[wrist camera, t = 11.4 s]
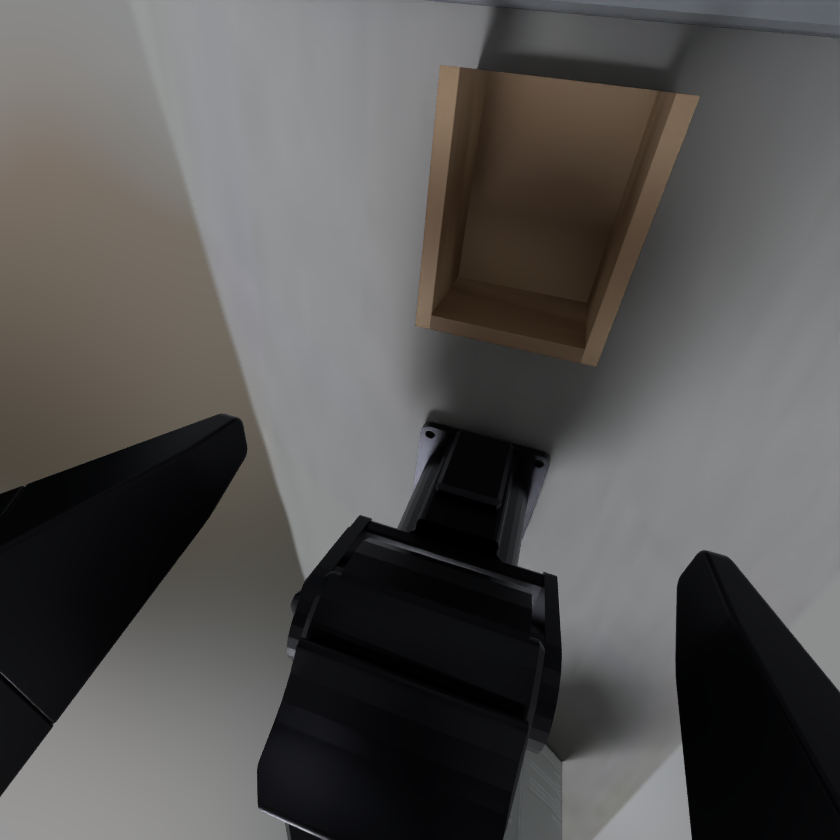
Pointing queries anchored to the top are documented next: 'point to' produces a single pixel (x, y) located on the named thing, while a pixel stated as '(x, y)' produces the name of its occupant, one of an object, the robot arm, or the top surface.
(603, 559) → the top surface
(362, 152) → the top surface
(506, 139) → the scoop
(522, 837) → the skincare box
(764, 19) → the tray
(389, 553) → the robot arm
